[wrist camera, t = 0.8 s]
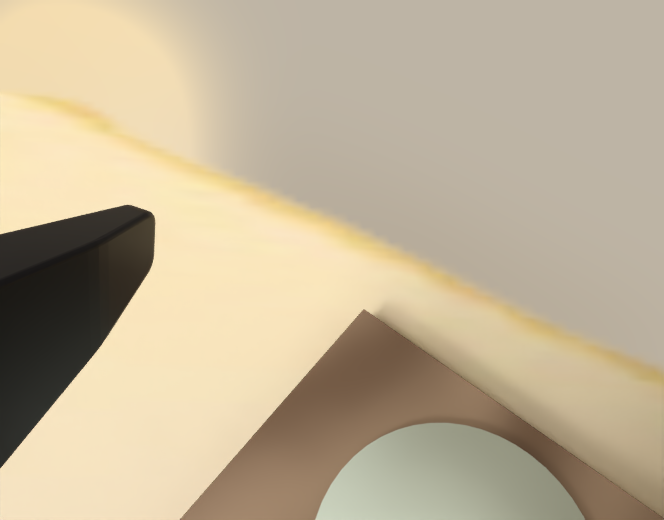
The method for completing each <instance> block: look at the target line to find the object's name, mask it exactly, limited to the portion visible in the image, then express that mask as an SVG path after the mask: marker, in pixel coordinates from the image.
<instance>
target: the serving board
mask: <svg viewBox="0 0 664 520" xmlns="http://www.w3.org/2000/svg"><path fill="white" fill-rule="evenodd" d="M426 423H453V424H461V425H467V426H471V427H475V428H479V429H482V430H485V431H487V432H490V433H493V434H495V435H498V436H500V437H502V438H504V439H506V440H508V441H509V442H511V443H513V444H515V445H517V446H518V447H520V448H521V449H523V450H524V451H526V452H527V453H528V454H530V455H531V456H533V457H534V458H535V459H536V460H537V461H538V462H540V463H541V464H542V465H543V466H544V467H546V468H547V469H548V471H549V472H550V473H551V474H552V475H553V476H554V477H555V478H556V479H557V480H558V481H559V482H560V483H561V485H562V486H563V487H564V488H565V490H566V491H567V492H568V494H569V495H570V496H571V497H572V499H573V500H574V502H575V503H576V505H577V507H578V508H579V510H580V511H581V513H582V515H583V516H584V518H585V520H664V518H662V517H661V516H660V515H658V514H657V513H655V512H654V511H652V510H651V509H650V508H648V507H647V506H645V505H644V504H642V503H641V502H640V501H638V500H637V499H635V498H634V497H632V496H631V495H630V494H628V493H627V492H625V491H624V490H622V489H621V488H619V487H618V486H617V485H615V484H614V483H612V482H611V481H609V480H608V479H607V478H605V477H604V476H602V475H601V474H599V473H598V472H597V471H595V470H594V469H592V468H591V467H589V466H588V465H587V464H585V463H584V462H582V461H581V460H579V459H578V458H576V457H575V456H574V455H572V454H571V453H569V452H568V451H566V450H565V449H564V448H562V447H561V446H559V445H558V444H556V443H555V442H554V441H552V440H551V439H549V438H548V437H546V436H545V435H544V434H542V433H541V432H539V431H538V430H536V429H535V428H533V427H532V426H531V425H529V424H528V423H526V422H525V421H523V420H522V419H521V418H519V417H518V416H516V415H515V414H513V413H512V412H511V411H509V410H508V409H506V408H505V407H503V406H502V405H501V404H499V403H498V402H496V401H495V400H493V399H492V398H491V397H489V396H488V395H486V394H485V393H483V392H482V391H480V390H479V389H478V388H476V387H475V386H473V385H472V384H470V383H469V382H468V381H466V380H465V379H463V378H462V377H460V376H459V375H458V374H456V373H455V372H453V371H452V370H450V369H449V368H448V367H446V366H445V365H443V364H442V363H440V362H439V361H437V360H436V359H435V358H433V357H432V356H430V355H429V354H427V353H426V352H425V351H423V350H422V349H420V348H419V347H417V346H416V345H415V344H413V343H412V342H410V341H409V340H407V339H406V338H405V337H403V336H402V335H400V334H399V333H397V332H396V331H394V330H393V329H392V328H390V327H389V326H387V325H386V324H384V323H383V322H382V321H380V320H379V319H377V318H376V317H374V316H373V315H372V314H370V313H369V312H367V311H366V310H363V311H362V312H361V313H360V314H359V315H358V316H357V318H356V319H355V320H354V321H353V322H352V323H351V324H350V326H349V327H348V328H347V329H346V330H345V331H344V332H343V334H342V335H341V336H340V337H339V338H338V339H337V340H336V342H335V343H334V344H333V345H332V346H331V347H330V348H329V350H328V351H327V352H326V353H325V354H324V355H323V356H322V358H321V359H320V360H319V361H318V362H317V363H316V364H315V366H314V367H313V368H312V369H311V370H310V371H309V372H308V374H307V375H306V376H305V377H304V378H303V379H302V380H301V382H300V383H299V384H298V385H297V386H296V387H295V388H294V390H293V391H292V392H291V393H290V394H289V395H288V396H287V398H286V399H285V400H284V401H283V402H282V403H281V404H280V406H279V407H278V408H277V409H276V410H275V411H274V413H273V414H272V415H271V416H270V417H269V418H268V419H267V421H266V422H265V423H264V424H263V425H262V426H261V427H260V429H259V430H258V431H257V432H256V433H255V434H254V435H253V437H252V438H251V439H250V440H249V441H248V442H247V443H246V445H245V446H244V447H243V448H242V449H241V450H240V451H239V453H238V454H237V455H236V456H235V457H234V458H233V459H232V461H231V462H230V463H229V464H228V465H227V466H226V467H225V469H224V470H223V471H222V472H221V473H220V474H219V475H218V477H217V478H216V479H215V480H214V481H213V482H212V483H211V485H210V486H209V487H208V488H207V489H206V490H205V491H204V493H203V494H202V495H201V496H200V497H199V498H198V499H197V501H196V502H195V503H194V504H193V505H192V506H191V507H190V509H189V510H188V511H187V512H186V513H185V514H184V515H183V517H182V518H181V519H180V520H315V519H316V516H317V514H318V511H319V508H320V505H321V503H322V501H323V499H324V497H325V495H326V493H327V491H328V489H329V487H330V485H331V484H332V482H333V481H334V479H335V478H336V477H337V475H338V474H339V472H340V471H341V470H342V468H343V467H344V466H345V465H346V464H347V463H348V462H349V461H350V460H351V459H352V458H353V457H354V456H355V455H356V454H357V453H358V452H360V451H361V450H362V449H363V448H365V447H366V446H367V445H369V444H370V443H372V442H373V441H375V440H377V439H378V438H380V437H382V436H384V435H386V434H388V433H391V432H393V431H395V430H398V429H401V428H405V427H409V426H412V425H418V424H426Z"/></svg>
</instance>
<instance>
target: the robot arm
mask: <svg viewBox="0 0 664 520" xmlns="http://www.w3.org/2000/svg"><path fill="white" fill-rule="evenodd" d="M154 242H155V218H154V215H153V214H152V213H151V212H150V211H147V210H144V209H141V208H138V207H135V206H132V205H124V206H120V207H115V208H111V209H107V210H103V211H98V212H94V213H90V214H85V215H81V216H77V217H73V218H68V219H64V220H60V221H55V222H51V223H47V224H43V225H38V226H34V227H30V228H25V229H21V230H17V231H13V232H8V233H4V234H0V468H1V467H2V466H3V465H4V463H5V462H6V461H7V460H8V458H9V457H10V456H11V455H12V454H13V452H14V451H15V450H16V449H17V448H18V446H19V445H20V444H21V443H22V441H23V440H24V439H25V438H26V437H27V435H28V434H29V433H30V432H31V430H32V429H33V428H34V427H35V426H36V424H37V423H38V422H39V421H40V420H41V418H42V417H43V416H44V415H45V413H46V412H47V411H48V410H49V409H50V407H51V406H52V405H53V404H54V403H55V401H56V400H57V399H58V398H59V396H60V395H61V394H62V393H63V392H64V390H65V389H66V388H67V387H68V386H69V384H70V383H71V382H72V381H73V379H74V378H75V377H76V376H77V375H78V373H79V372H80V371H81V370H82V369H83V367H84V366H85V365H86V364H87V362H88V361H89V360H90V359H91V358H92V356H93V355H94V354H95V352H96V351H97V350H98V349H99V347H100V346H101V345H102V343H103V342H104V340H105V339H106V337H107V336H108V335H109V333H110V331H111V330H112V328H113V327H114V325H115V324H116V322H117V321H118V319H119V317H120V316H121V314H122V313H123V311H124V310H125V308H126V307H127V305H128V303H129V302H130V300H131V299H132V297H133V296H134V294H135V293H136V291H137V289H138V288H139V286H140V285H141V283H142V282H143V280H144V279H145V277H146V275H147V274H148V272H149V271H150V268H151V266H152V263H153V259H154Z"/></svg>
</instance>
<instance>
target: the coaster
mask: <svg viewBox="0 0 664 520" xmlns="http://www.w3.org/2000/svg"><path fill="white" fill-rule="evenodd" d="M315 520H585V518H584V516H583V515H582V513H581V511H580V510H579V508H578V507H577V505H576V503H575V502H574V500H573V499H572V497H571V496H570V495H569V494H568V492H567V491H566V490H565V488H564V487H563V486H562V485H561V483H560V482H559V481H558V480H557V479H556V478H555V477H554V476H553V475H552V474H551V473H550V472H549V471H548V469H547V468H546V467H544V466H543V465H542V464H541V463H540V462H538V461H537V460H536V459H535V458H534V457H533V456H531V455H530V454H528V453H527V452H526V451H524V450H523V449H521V448H520V447H518V446H517V445H515V444H513V443H511V442H509V441H508V440H506V439H504V438H502V437H500V436H498V435H495V434H493V433H490V432H487V431H485V430H482V429H479V428H475V427H471V426H467V425H461V424H453V423H426V424H418V425H412V426H409V427H405V428H401V429H398V430H395V431H393V432H391V433H388V434H386V435H384V436H382V437H380V438H378V439H377V440H375V441H373V442H372V443H370V444H369V445H367V446H366V447H365V448H363V449H362V450H361V451H360V452H358V453H357V454H356V455H355V456H354V457H353V458H352V459H351V460H350V461H349V462H348V463H347V464H346V465H345V466H344V467H343V468H342V470H341V471H340V472H339V474H338V475H337V477H336V478H335V479H334V481H333V482H332V484H331V485H330V487H329V489H328V491H327V493H326V495H325V497H324V499H323V501H322V503H321V505H320V508H319V511H318V514H317V516H316V519H315Z"/></svg>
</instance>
